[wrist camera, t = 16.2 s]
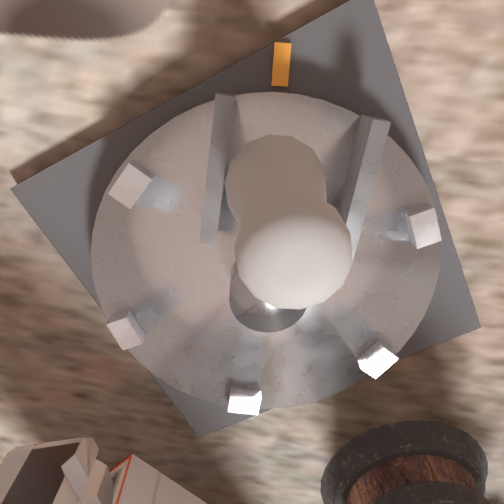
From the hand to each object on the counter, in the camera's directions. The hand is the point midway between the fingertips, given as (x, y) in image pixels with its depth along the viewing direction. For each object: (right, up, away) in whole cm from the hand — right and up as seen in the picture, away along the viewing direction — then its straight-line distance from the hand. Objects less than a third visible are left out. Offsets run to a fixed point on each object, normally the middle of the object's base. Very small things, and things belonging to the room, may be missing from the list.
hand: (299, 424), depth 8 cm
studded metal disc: (0, +2, +23) cm, 23 cm away
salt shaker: (0, +8, +18) cm, 20 cm away
